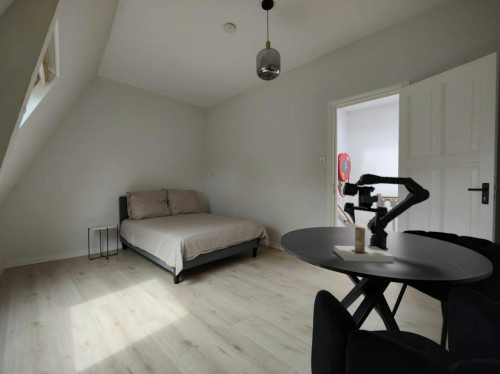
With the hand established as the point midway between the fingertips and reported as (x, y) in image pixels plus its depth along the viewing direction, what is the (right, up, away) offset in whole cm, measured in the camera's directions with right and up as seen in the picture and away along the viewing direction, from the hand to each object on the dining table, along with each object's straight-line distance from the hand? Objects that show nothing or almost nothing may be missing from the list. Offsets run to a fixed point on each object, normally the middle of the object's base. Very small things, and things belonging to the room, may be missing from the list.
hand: (364, 225), depth 109 cm
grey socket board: (-4, -13, -5) cm, 15 cm away
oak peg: (-6, -13, -7) cm, 16 cm away
